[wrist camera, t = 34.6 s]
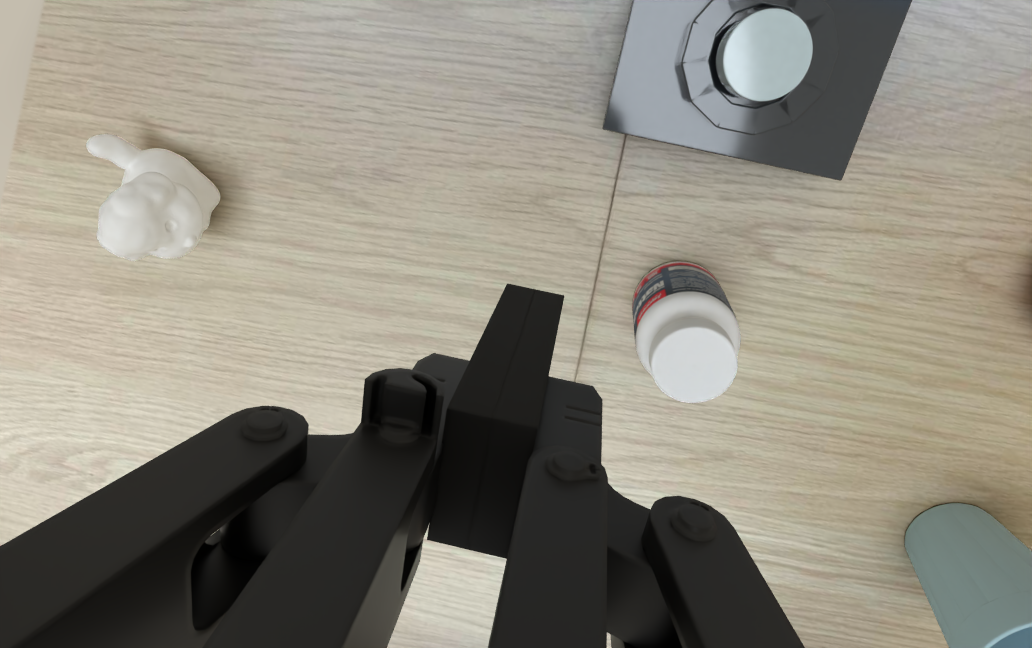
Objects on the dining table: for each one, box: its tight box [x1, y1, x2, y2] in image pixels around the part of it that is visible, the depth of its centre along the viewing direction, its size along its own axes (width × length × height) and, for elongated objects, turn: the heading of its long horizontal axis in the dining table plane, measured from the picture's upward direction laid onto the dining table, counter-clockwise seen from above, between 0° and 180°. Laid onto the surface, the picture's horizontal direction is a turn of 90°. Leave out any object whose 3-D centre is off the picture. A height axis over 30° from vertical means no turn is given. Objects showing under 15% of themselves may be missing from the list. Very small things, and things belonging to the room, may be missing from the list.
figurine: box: [86, 134, 220, 261], centre depth 36 cm, size 5×8×8 cm
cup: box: [905, 503, 1032, 648], centre depth 36 cm, size 8×8×10 cm
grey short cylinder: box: [716, 8, 813, 101], centre depth 27 cm, size 4×4×2 cm
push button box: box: [603, 0, 912, 180], centre depth 30 cm, size 12×9×5 cm
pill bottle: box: [632, 261, 741, 403], centre depth 34 cm, size 5×5×9 cm
